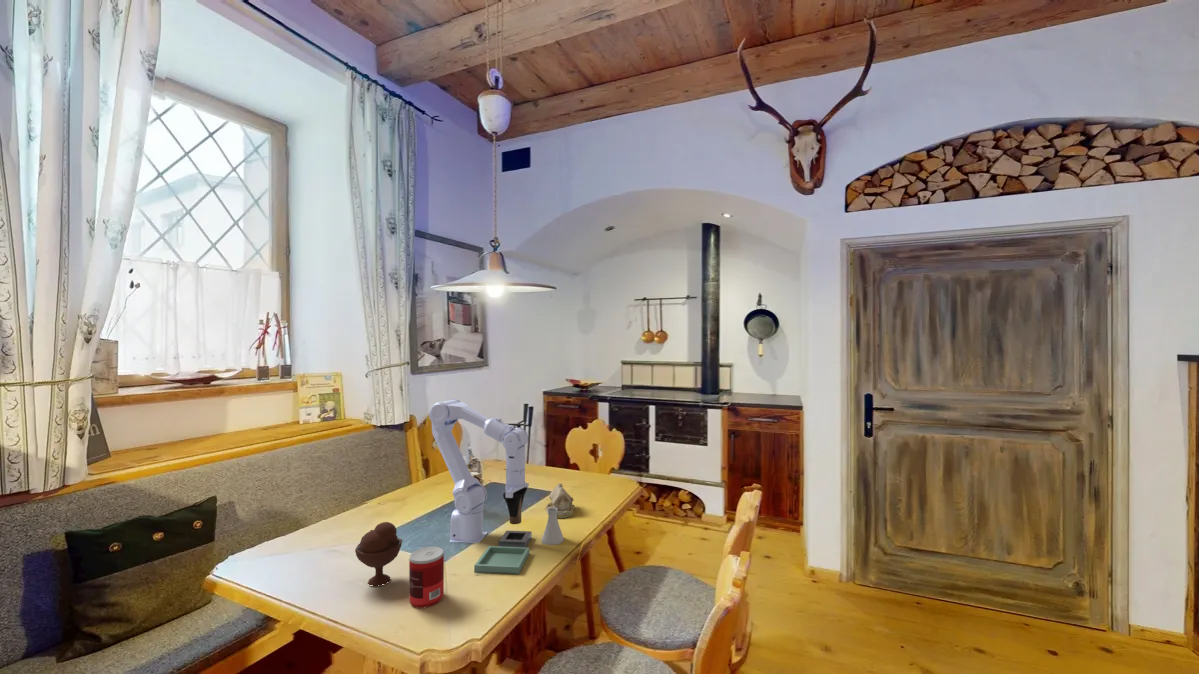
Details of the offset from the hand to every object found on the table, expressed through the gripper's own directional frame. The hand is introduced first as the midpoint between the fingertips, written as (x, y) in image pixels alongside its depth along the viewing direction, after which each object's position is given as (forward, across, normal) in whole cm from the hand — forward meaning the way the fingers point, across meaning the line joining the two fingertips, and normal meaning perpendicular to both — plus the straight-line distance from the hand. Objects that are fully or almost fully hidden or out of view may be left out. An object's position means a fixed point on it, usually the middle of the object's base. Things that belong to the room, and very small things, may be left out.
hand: (515, 514), depth 145 cm
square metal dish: (+9, 0, 0) cm, 9 cm away
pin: (+2, 0, 0) cm, 2 cm away
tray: (+9, -13, 0) cm, 16 cm away
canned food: (+9, -32, +13) cm, 36 cm away
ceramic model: (+10, +29, -9) cm, 32 cm away
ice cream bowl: (+9, -25, +29) cm, 39 cm away
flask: (+9, +3, -11) cm, 15 cm away
